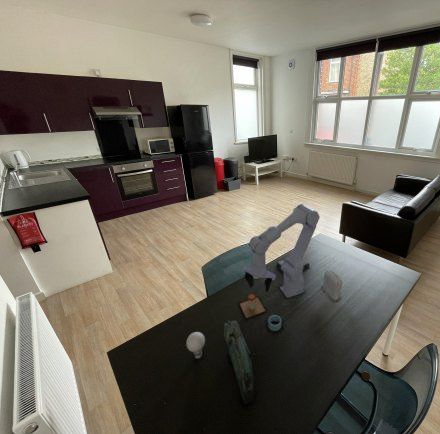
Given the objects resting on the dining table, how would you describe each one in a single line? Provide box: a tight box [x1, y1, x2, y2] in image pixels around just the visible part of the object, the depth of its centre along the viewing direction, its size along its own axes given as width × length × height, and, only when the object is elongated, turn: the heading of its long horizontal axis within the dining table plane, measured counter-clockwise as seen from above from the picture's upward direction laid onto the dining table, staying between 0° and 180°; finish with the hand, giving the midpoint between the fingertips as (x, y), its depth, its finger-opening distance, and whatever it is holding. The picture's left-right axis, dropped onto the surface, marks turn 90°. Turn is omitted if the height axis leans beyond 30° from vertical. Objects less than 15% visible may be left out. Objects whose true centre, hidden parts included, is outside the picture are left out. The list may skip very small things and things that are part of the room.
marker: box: [248, 293, 256, 309], centre depth 106 cm, size 3×3×6 cm
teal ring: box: [267, 314, 283, 332], centre depth 99 cm, size 5×6×3 cm
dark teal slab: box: [223, 319, 255, 405], centre depth 77 cm, size 20×6×20 cm, turn 23°
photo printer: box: [322, 268, 343, 301], centre depth 114 cm, size 10×4×12 cm, turn 23°
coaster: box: [239, 297, 266, 319], centre depth 108 cm, size 9×9×1 cm
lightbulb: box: [185, 331, 206, 360], centre depth 85 cm, size 6×6×11 cm
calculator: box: [276, 258, 310, 274], centre depth 133 cm, size 11×4×15 cm
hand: (259, 288), depth 106 cm, fingers open, 7 cm apart
